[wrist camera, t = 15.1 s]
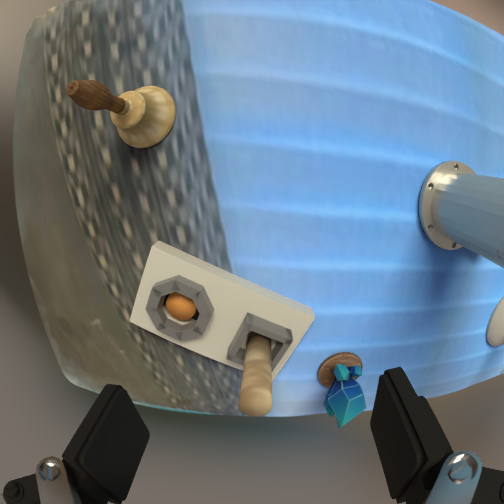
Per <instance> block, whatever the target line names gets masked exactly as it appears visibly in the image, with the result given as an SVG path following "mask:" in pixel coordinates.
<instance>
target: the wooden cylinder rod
mask: <svg viewBox="0 0 504 504" xmlns="http://www.w3.org/2000/svg"><path fill="white" fill-rule="evenodd" d="M239 409H240V410H241V411H242V412H243V413H244V414H246V415H249V416H255V417H257V416H263V415H266V414H267V413H269V412H270V411H271V409H272V350H271V338H269V337H266V336H264V335H261V334H258V333H256V332H253V331H252V332H250V333H249V335H248V336H247V342H246V351H245V359H244V367H243V375H242V383H241V392H240V400H239Z"/></svg>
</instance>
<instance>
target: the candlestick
mask: <svg viewBox="0 0 504 504" xmlns="http://www.w3.org/2000/svg"><path fill="white" fill-rule="evenodd" d="M486 338H487V341H488V343H489V344H490V345H492V346H499V345H502V344H504V296H503V297H502V299H501V300H500V301H499V303H498V304H497V306H496V307H495V309H494V311H493V313H492V315H491V317H490V319H489V322H488V326H487V331H486Z"/></svg>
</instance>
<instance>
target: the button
mask: <svg viewBox="0 0 504 504" xmlns="http://www.w3.org/2000/svg"><path fill="white" fill-rule="evenodd" d="M166 307H167V310H168V312H169V313H170V314H171V315H172V316H173V317H175V318H177V319H180V320H187V319H190V318H191V317H192V316H193V315H194V314H195V312H196V310H197V308H196V306H195V304H194V301H193V299H191V298H189V297H187V296H184V295H182V294H180V293H178V292H173V293H171V294H170V295H169V296H168V298H167V300H166Z"/></svg>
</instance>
